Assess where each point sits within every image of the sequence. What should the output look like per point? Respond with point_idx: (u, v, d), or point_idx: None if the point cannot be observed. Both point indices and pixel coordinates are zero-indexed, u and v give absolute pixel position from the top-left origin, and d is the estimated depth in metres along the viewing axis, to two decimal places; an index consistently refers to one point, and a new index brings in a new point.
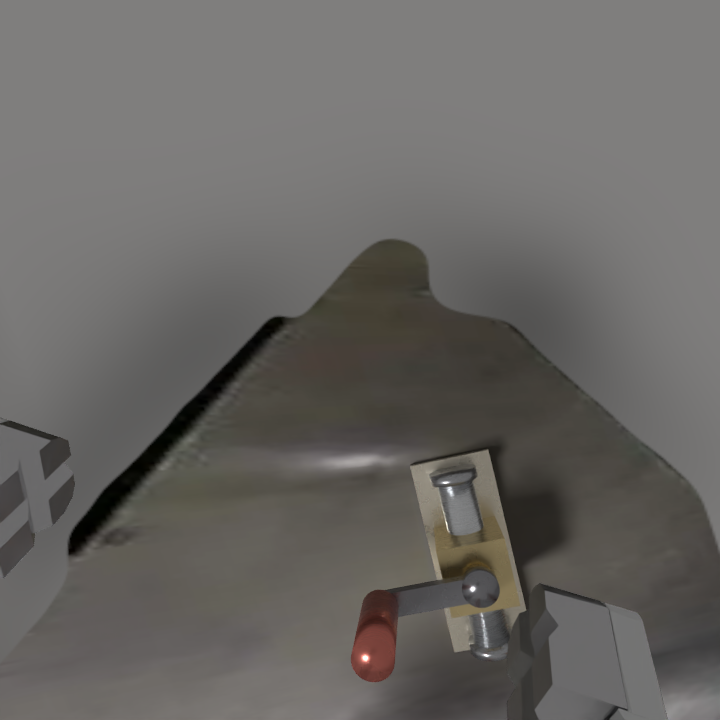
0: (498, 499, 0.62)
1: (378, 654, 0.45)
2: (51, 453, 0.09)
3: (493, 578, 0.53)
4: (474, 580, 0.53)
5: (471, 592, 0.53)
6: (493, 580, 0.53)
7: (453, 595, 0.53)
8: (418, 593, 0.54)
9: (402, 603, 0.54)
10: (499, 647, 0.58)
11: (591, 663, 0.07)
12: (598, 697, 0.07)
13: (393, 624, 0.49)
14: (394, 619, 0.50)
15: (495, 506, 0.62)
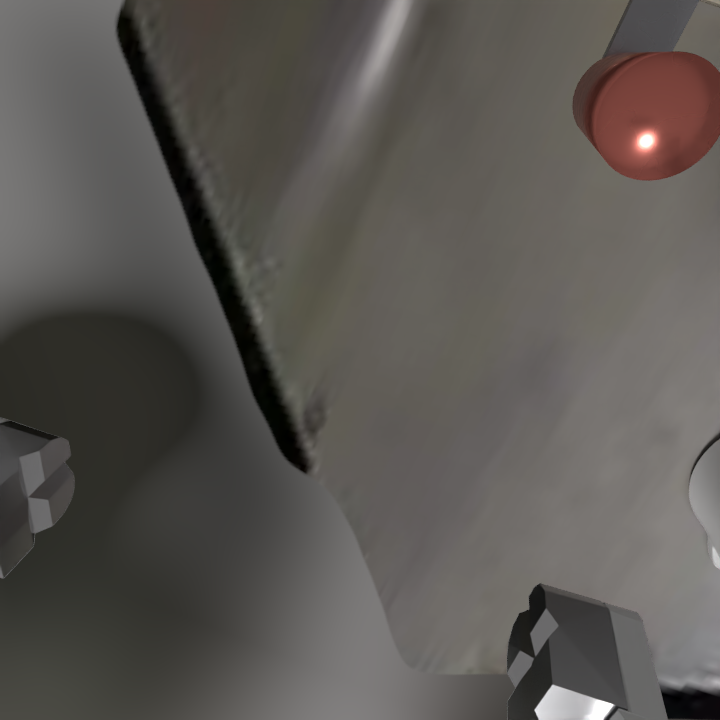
0: None
1: (657, 94, 0.16)
2: (51, 453, 0.09)
3: None
4: None
5: None
6: None
7: None
8: None
9: (643, 42, 0.23)
10: None
11: (591, 663, 0.07)
12: (598, 697, 0.07)
13: None
14: None
15: None
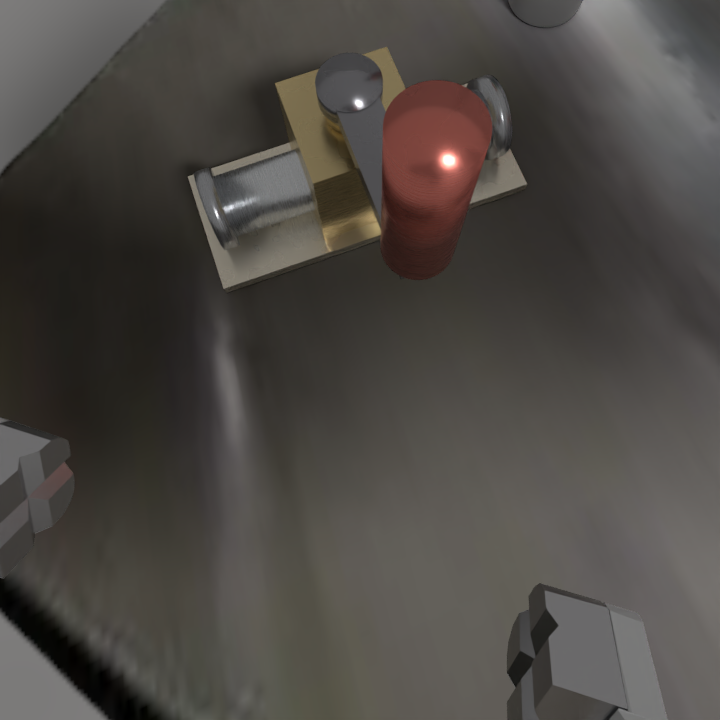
0: (265, 152, 0.39)
1: (419, 116, 0.18)
2: (51, 453, 0.09)
3: (325, 64, 0.29)
4: (333, 92, 0.29)
5: (358, 95, 0.29)
6: (328, 64, 0.29)
7: (369, 123, 0.28)
8: (375, 181, 0.28)
9: None
10: (483, 92, 0.35)
11: (591, 663, 0.07)
12: (598, 697, 0.07)
13: None
14: None
15: (277, 155, 0.39)
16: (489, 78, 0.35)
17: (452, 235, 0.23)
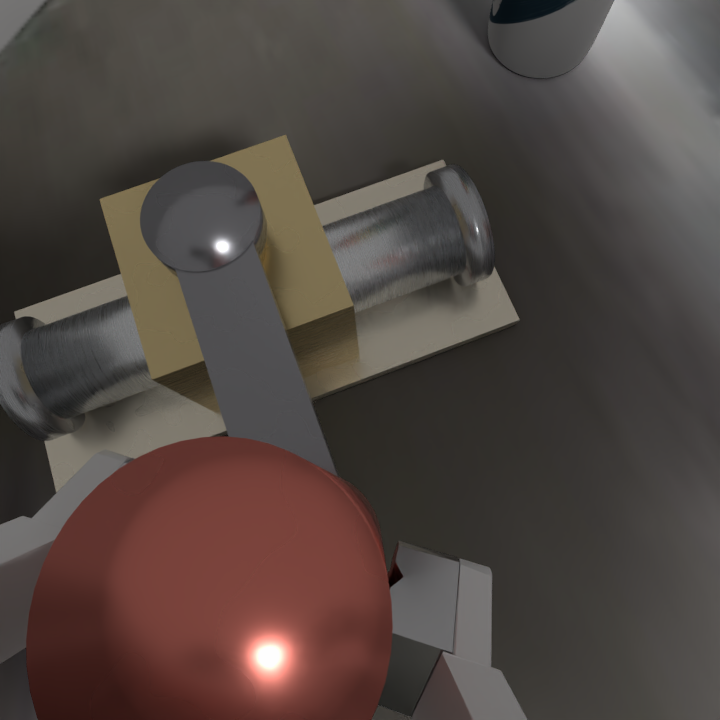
0: None
1: (154, 576, 0.05)
2: None
3: (159, 183, 0.17)
4: (171, 236, 0.16)
5: (216, 239, 0.16)
6: (164, 183, 0.17)
7: (232, 294, 0.16)
8: (238, 408, 0.15)
9: None
10: (447, 195, 0.22)
11: (427, 611, 0.07)
12: (426, 641, 0.07)
13: None
14: None
15: None
16: (457, 173, 0.22)
17: None
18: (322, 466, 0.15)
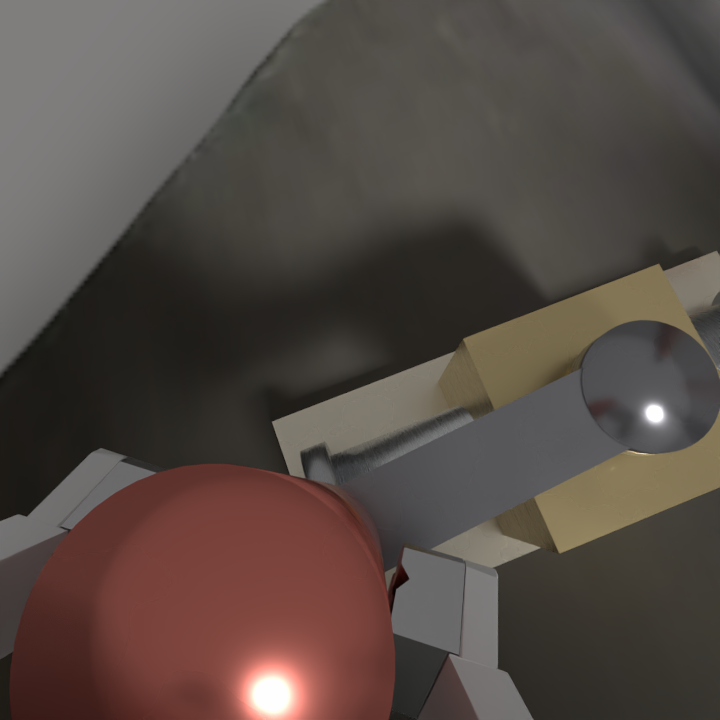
0: (394, 378, 0.24)
1: (243, 589, 0.05)
2: None
3: (680, 334, 0.15)
4: (619, 358, 0.15)
5: (625, 406, 0.15)
6: (682, 340, 0.15)
7: (563, 434, 0.14)
8: (439, 458, 0.14)
9: (390, 513, 0.14)
10: None
11: (433, 613, 0.07)
12: (432, 643, 0.07)
13: (355, 509, 0.09)
14: (360, 510, 0.10)
15: (414, 383, 0.24)
16: None
17: None
18: (387, 557, 0.14)
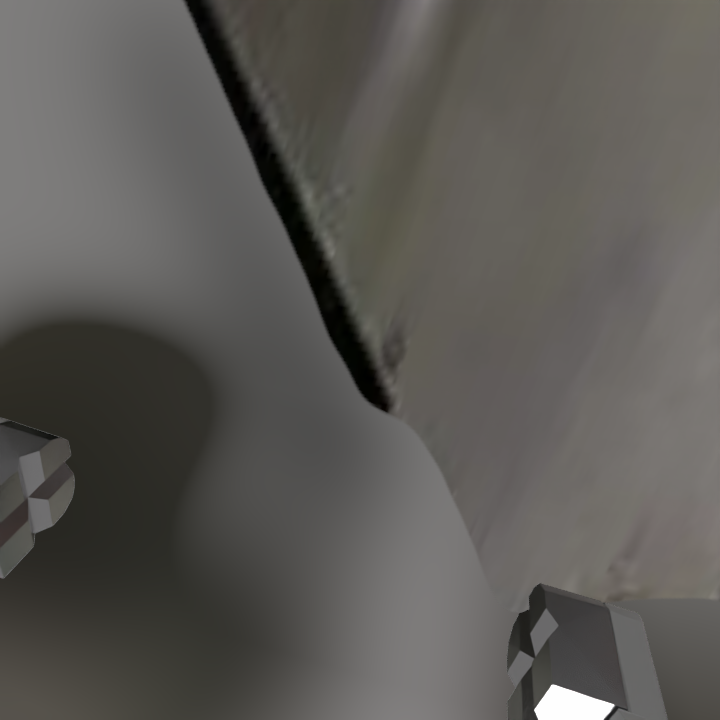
0: None
1: None
2: (51, 453, 0.09)
3: None
4: None
5: None
6: None
7: None
8: None
9: None
10: None
11: (591, 663, 0.07)
12: (598, 697, 0.07)
13: None
14: None
15: None
16: None
17: None
18: None
